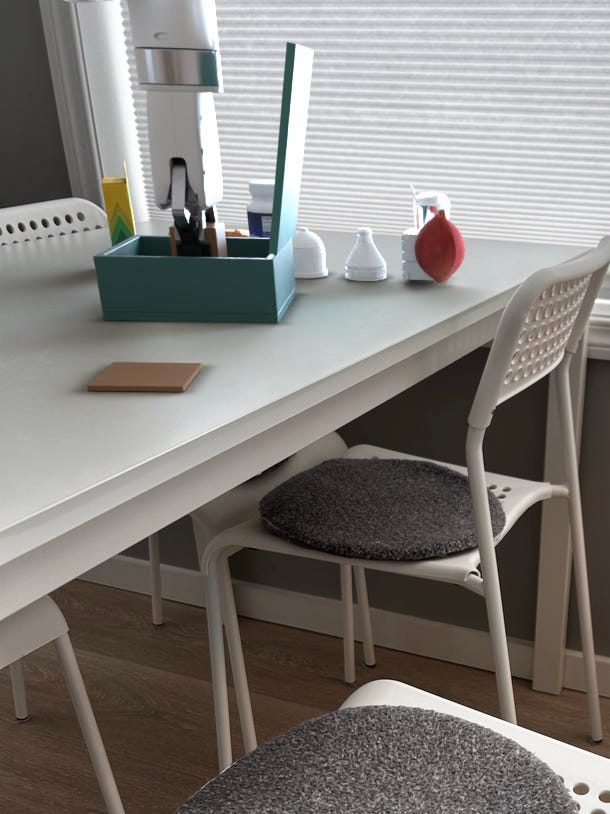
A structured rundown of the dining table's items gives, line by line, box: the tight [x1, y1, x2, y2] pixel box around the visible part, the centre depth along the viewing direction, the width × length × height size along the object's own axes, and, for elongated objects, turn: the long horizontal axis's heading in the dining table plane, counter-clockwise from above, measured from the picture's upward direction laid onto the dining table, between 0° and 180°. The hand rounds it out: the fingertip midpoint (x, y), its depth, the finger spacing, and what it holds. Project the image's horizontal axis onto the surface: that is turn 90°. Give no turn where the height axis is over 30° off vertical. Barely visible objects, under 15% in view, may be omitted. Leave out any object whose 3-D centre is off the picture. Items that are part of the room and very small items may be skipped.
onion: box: [415, 209, 466, 284], centre depth 109 cm, size 6×6×8 cm
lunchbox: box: [92, 234, 297, 324], centre depth 96 cm, size 17×15×6 cm
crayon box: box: [101, 160, 137, 247], centre depth 114 cm, size 7×3×12 cm, turn 18°
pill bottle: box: [246, 179, 275, 238], centre depth 115 cm, size 6×6×10 cm
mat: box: [86, 361, 203, 393], centre depth 73 cm, size 7×7×1 cm
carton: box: [168, 221, 228, 257], centre depth 95 cm, size 4×4×7 cm
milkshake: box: [409, 184, 451, 230], centre depth 117 cm, size 4×5×10 cm
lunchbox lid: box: [269, 41, 314, 255], centre depth 91 cm, size 17×15×1 cm
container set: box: [292, 226, 436, 282], centre depth 114 cm, size 20×5×6 cm, turn 84°
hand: (203, 280), depth 96 cm, fingers closed on carton, 4 cm apart
